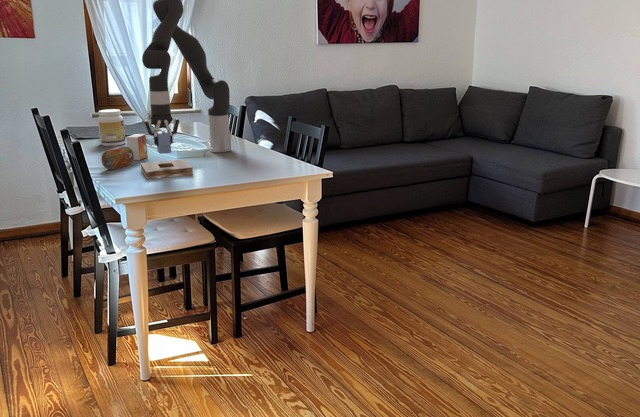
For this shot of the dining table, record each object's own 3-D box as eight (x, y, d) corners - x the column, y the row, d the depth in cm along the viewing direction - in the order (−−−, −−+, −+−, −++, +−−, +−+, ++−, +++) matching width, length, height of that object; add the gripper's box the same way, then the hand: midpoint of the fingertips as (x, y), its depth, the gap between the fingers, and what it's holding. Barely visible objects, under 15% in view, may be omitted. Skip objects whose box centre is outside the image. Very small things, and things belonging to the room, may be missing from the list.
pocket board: (184, 166, 251) (184, 159, 250) (192, 174, 237) (192, 167, 236) (141, 170, 244) (140, 163, 243) (147, 179, 230) (146, 172, 229)
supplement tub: (129, 144, 296) (125, 110, 290) (104, 147, 289) (100, 113, 284) (121, 140, 305) (118, 107, 300) (97, 143, 299) (93, 110, 293)
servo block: (167, 149, 243) (166, 128, 240) (172, 153, 235) (170, 131, 232) (156, 150, 241) (155, 128, 239) (160, 154, 233) (158, 132, 231)
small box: (139, 160, 262) (137, 137, 258) (128, 160, 263) (125, 136, 259) (148, 156, 269) (146, 134, 266) (137, 156, 270) (134, 133, 267)
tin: (106, 171, 243) (104, 151, 240) (101, 170, 245) (99, 150, 242) (135, 164, 255) (133, 145, 253) (130, 163, 257) (128, 144, 254)
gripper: (176, 100, 238) (179, 142, 243) (140, 102, 233) (144, 144, 238) (180, 102, 232) (183, 145, 237) (142, 104, 226) (146, 148, 231)
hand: (163, 144), depth 237 cm, fingers closed on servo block, 4 cm apart
